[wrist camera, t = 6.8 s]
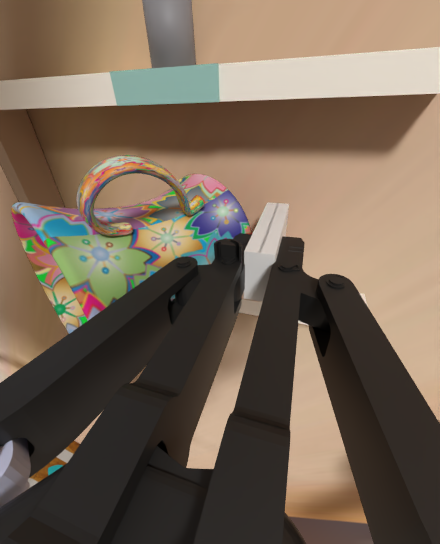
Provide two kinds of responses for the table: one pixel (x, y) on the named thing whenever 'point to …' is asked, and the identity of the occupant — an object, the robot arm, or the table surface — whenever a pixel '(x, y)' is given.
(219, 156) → the table surface
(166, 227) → the mug
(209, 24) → the table surface
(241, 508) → the robot arm
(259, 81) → the teal-striped rail frame
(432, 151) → the table surface
